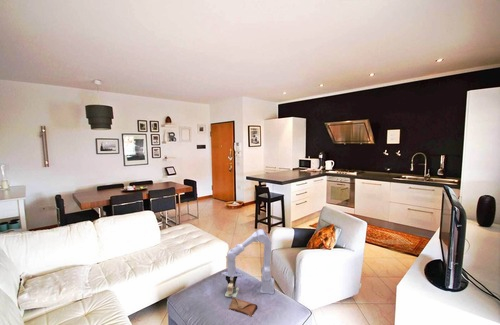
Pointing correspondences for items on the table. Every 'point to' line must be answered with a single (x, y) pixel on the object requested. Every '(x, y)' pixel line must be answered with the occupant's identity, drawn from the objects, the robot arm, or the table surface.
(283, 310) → the table surface
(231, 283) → the beige piece
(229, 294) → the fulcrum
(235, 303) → the sunglasses case
